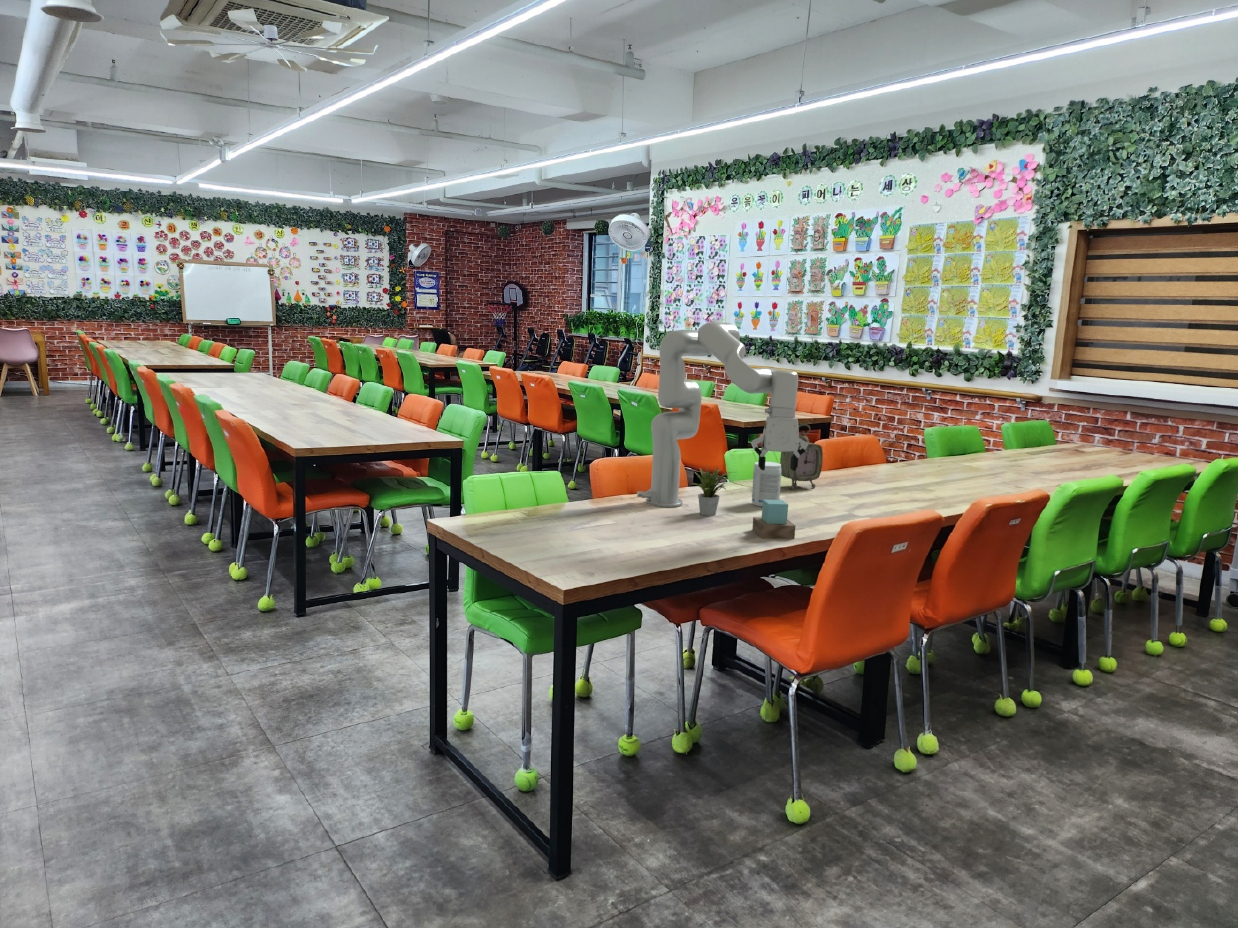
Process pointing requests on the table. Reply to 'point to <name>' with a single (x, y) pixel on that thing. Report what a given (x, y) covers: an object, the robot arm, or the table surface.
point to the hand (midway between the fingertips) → (777, 469)
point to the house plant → (709, 492)
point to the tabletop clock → (803, 462)
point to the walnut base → (773, 529)
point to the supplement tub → (766, 483)
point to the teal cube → (774, 511)
